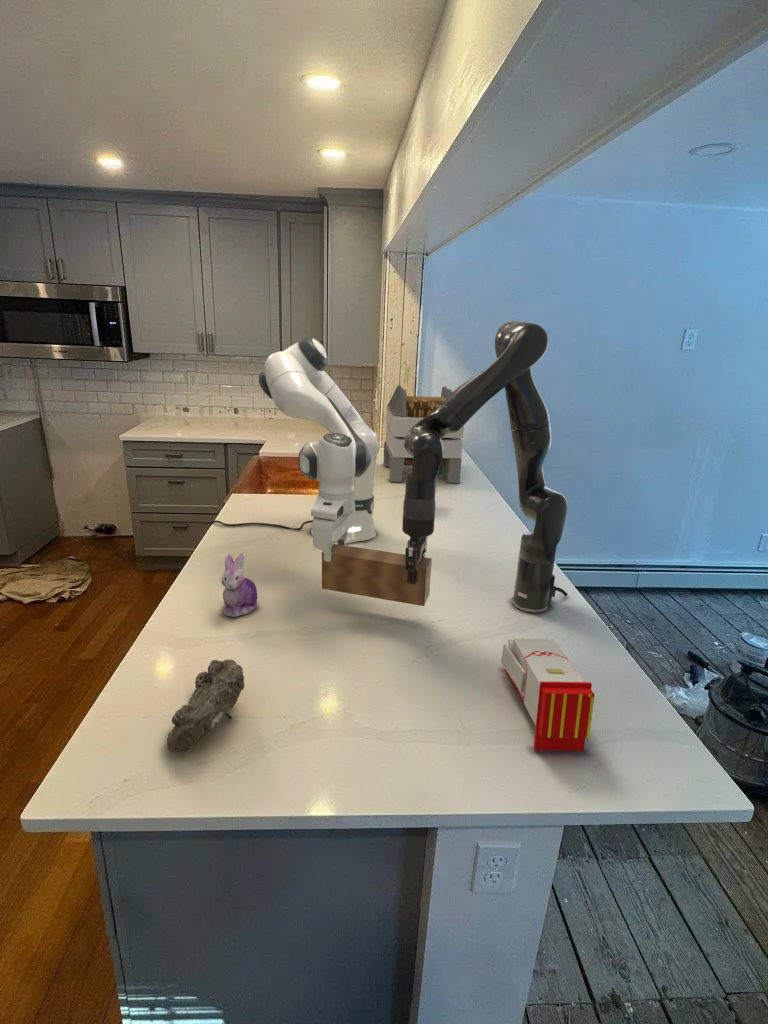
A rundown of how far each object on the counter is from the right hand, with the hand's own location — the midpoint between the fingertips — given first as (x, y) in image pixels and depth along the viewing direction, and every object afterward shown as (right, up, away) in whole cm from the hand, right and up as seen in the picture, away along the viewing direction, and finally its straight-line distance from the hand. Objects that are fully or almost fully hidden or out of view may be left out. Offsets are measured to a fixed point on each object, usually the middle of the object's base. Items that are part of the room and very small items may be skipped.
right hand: (415, 577), depth 139 cm
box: (-10, -4, +4) cm, 12 cm away
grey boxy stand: (+10, +35, +136) cm, 141 cm away
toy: (+24, -23, -23) cm, 40 cm away
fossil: (-40, -23, -31) cm, 56 cm away
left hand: (-20, +6, +4) cm, 21 cm away
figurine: (-45, -9, +7) cm, 46 cm away
